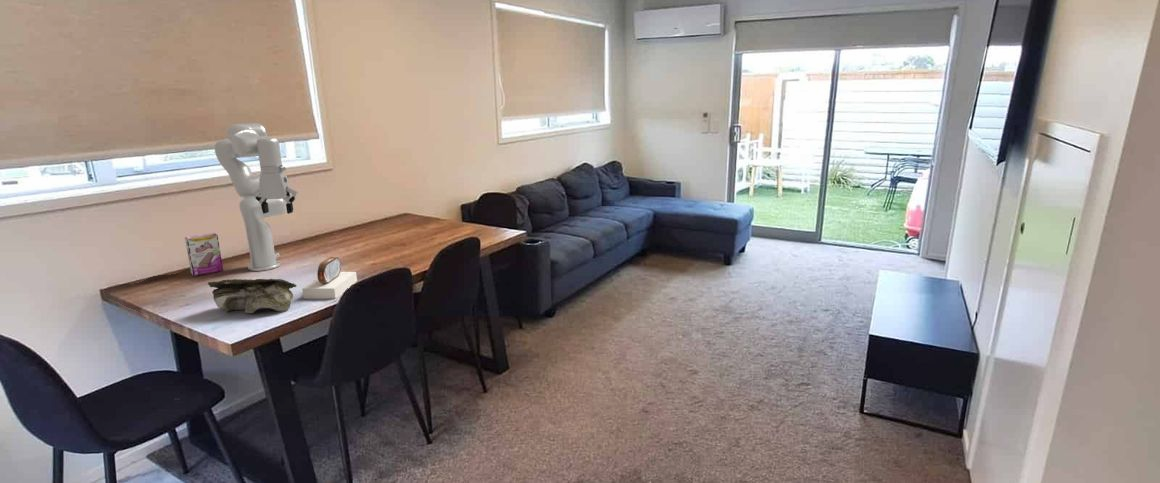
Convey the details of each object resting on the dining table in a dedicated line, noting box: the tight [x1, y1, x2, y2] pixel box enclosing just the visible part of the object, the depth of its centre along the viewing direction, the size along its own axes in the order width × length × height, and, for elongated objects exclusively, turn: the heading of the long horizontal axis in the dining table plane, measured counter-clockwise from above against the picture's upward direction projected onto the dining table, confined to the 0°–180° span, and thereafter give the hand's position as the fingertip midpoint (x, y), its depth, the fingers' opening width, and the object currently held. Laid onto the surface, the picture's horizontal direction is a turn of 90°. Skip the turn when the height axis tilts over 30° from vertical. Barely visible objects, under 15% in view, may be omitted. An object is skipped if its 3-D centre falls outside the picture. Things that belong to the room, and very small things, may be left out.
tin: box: [316, 256, 342, 283], centre depth 213 cm, size 15×3×8 cm, turn 179°
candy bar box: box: [184, 232, 224, 277], centre depth 234 cm, size 11×5×16 cm, turn 135°
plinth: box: [302, 271, 358, 300], centre depth 215 cm, size 20×12×4 cm, turn 179°
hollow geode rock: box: [207, 278, 298, 314], centre depth 192 cm, size 28×13×15 cm
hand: (278, 212), depth 219 cm, fingers open, 9 cm apart
